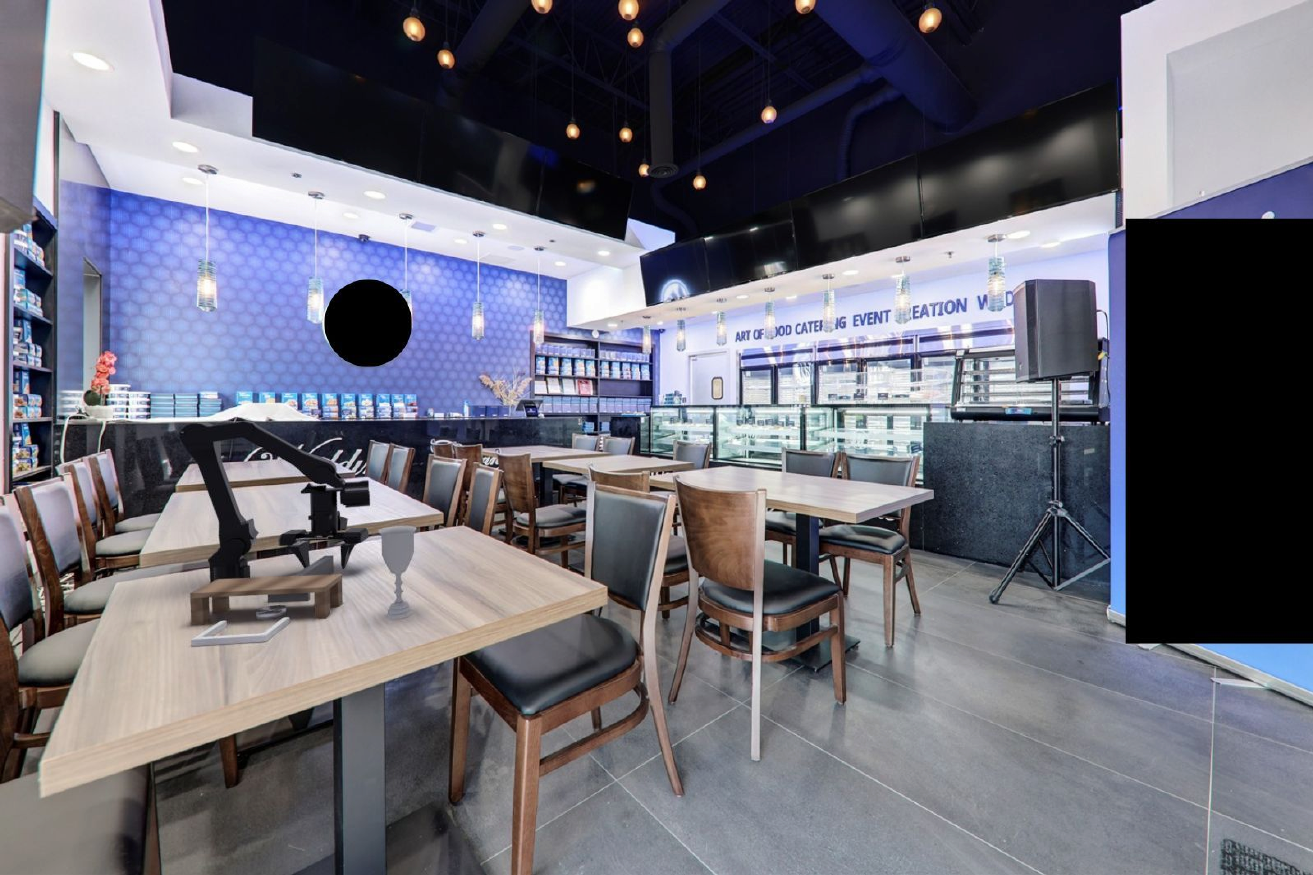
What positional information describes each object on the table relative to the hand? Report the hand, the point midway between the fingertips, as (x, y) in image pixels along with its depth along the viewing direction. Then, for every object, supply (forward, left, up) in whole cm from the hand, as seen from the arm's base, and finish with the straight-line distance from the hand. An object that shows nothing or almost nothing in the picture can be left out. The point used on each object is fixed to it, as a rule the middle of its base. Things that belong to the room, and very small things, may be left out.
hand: (325, 569), depth 129 cm
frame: (0, -34, -1) cm, 34 cm away
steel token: (0, -25, -2) cm, 25 cm away
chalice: (+26, -29, -2) cm, 39 cm away
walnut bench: (0, -25, -1) cm, 25 cm away
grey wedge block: (0, -8, -1) cm, 8 cm away
